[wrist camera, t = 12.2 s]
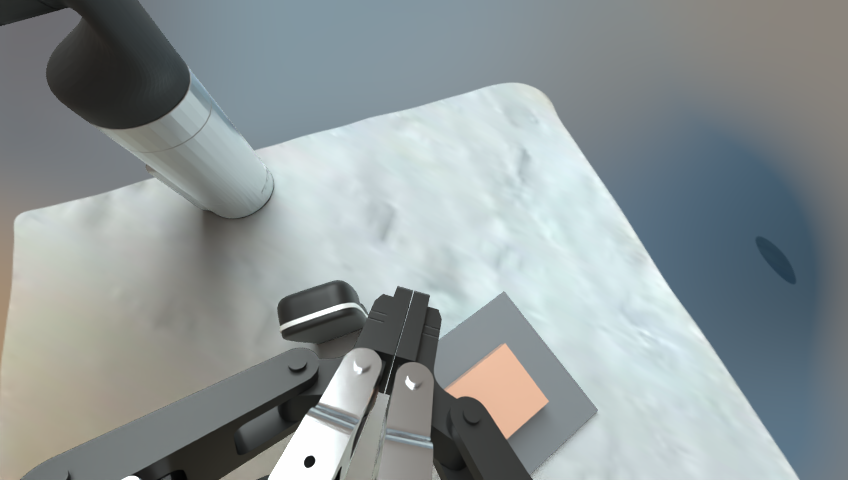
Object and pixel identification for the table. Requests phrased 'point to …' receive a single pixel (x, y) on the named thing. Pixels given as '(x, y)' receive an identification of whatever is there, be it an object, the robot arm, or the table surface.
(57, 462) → the robot arm
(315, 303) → the battery charger
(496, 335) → the mat
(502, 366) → the tile
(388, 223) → the table surface
